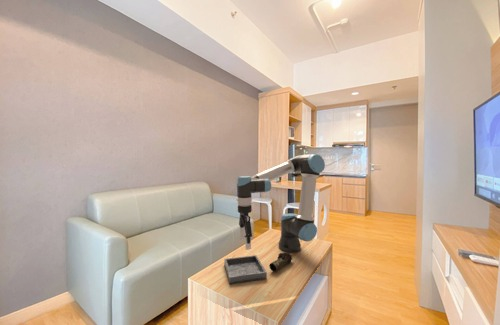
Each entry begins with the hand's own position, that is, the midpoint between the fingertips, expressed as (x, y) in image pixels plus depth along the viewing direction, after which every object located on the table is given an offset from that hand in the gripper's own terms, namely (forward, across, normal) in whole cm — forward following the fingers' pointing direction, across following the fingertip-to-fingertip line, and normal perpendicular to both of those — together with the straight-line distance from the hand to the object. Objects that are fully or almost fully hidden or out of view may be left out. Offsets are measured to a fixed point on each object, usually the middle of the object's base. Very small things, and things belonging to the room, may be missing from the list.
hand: (245, 243), depth 108 cm
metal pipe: (+18, +3, +16) cm, 25 cm away
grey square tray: (+15, 0, -1) cm, 15 cm away
